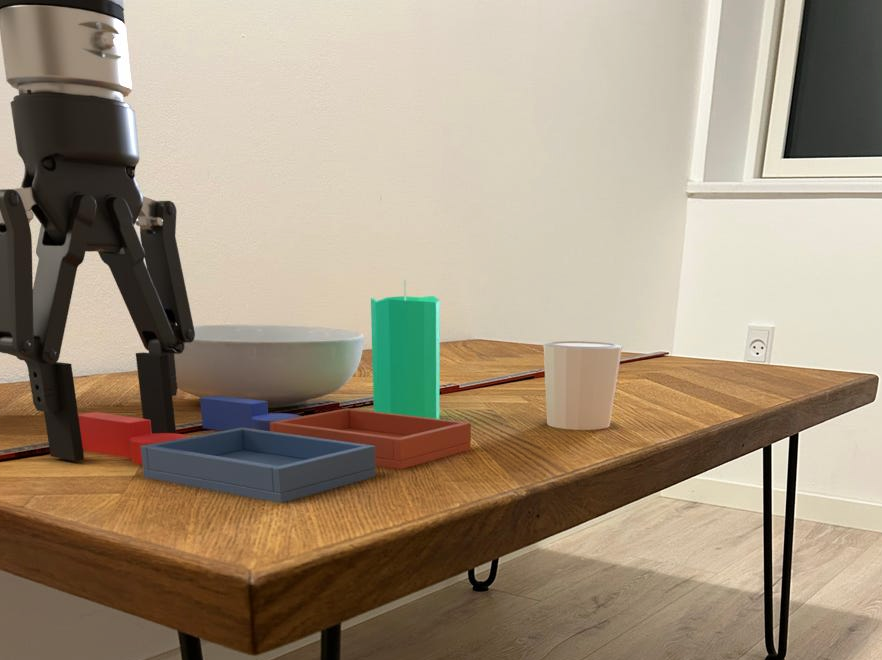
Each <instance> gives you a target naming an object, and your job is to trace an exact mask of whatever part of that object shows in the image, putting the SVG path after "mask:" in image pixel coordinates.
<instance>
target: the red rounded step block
mask: <svg viewBox="0 0 882 660" xmlns="http://www.w3.org/2000/svg"><path fill="white" fill-rule="evenodd" d="M78 417H79V424H80V431H81V438H82V446H83V451H88V452H93V453H99V454H104V455H110V456H117V457H123V458H127V459H131V461H132V464H133V463H134V464H136V465H141V466H143V463H142V454H141V446H144V445H149V444H155V443H160V442H166V441H171V440H177V439H182V438H187V437H189V436H188V435H186V434H182V433H176V434H175V433H154V434H152V431H151V422H150V420H149V419H143V417H135V416H127V415H120V414H113V413H106V412H99V411H94V412H86V413H78Z"/></svg>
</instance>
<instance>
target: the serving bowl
mask: <svg viewBox="0 0 882 660" xmlns="http://www.w3.org/2000/svg"><path fill="white" fill-rule="evenodd" d="M193 326H194V331H195V338H194V340H193V341H192V342H190V343H188V342H186V343H184V345H185V348H184V351H183V352H182V353H180V354H174V358H175V368H176V378H177V380H176V381H177V388H178V389H179V390H180V391H182V392H184V393H187V394H189V395H192V396H194V397H198V398H200V397H207V396H214V395H218V396H226V397H234V398H243V399H251V400H260V401H267V408H268V409H275V408H276V409H277V408H289V407H295V406H300V405H303V404H305V403H307V402H308V401H310V400H314V399H318V398H321V397H324V396H327V395H330V394H332V393H335V392H336V391H338V390H340V389H341V388H343V387H344V386H345V385H346V384H348V382H349V381H350V380H351V379H352V377H354V375H355V374H356V372H357V371H358V368H359V365H360V363H361V359H362V357H363V351H364V350H363V349H364V341H365V336H364V334H363V333H360V332H358V331H353V330H349V329H343V328H342V329H341V328H332V327H323V326H308V325H307V326H305V325H286V324H285V325H283V324H199V325H193ZM178 389H177V390H178Z"/></svg>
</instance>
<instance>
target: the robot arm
mask: <svg viewBox="0 0 882 660" xmlns="http://www.w3.org/2000/svg"><path fill="white" fill-rule="evenodd" d="M124 11H125V5H124V0H0V43H1V50H2V56H3V57H2V58H3V64H4V73H5V80H6V83H8V84H9V86H11V87H12V88H13V89H16V90H18V95H14V97H13V99H12V101H10V110H11V115H12V116H11V117H12V122H13V131H14V136H15V143H16V150H17V151H16V152H17V154H18V155H19V157H20V158H21V160H22V162H23V165H24V175H23V179H22V181H21V186H20V187H16V188H1V189H0V353H1V354H7V355H10V356H14V357H16V359H17V360H20V361H23V362H24V363H25V364H26V367H27V372H28V378H29V386H30V391H31V397H32V404H33V406H34V408H35V410H36V411H37V412H43V414H44V421H45V427H46V435H47V440H48V447H49V455H50V457H52V458H57V459H62V460H67V461H72V462H79V461H84V460H85V455H84V450H83V446H82V438H81V431H80V424H79V417H78V415H79V411H78V410H79V409H78V404H77V403H78V402H77V394H76V389H75V388H76V387H75V381H74V374H73V366H72V363H67V362H61V361H59V359H60V356H61V352H62V351H61V350H62V345H63V342H64V341H63V340H64V336H65V332H66V331H65V330H66V326H67V320H68V316H69V311H70V305H71V301H72V295H73V291H74V287H75V280H76V277H77V276H76V275H77V272H78V267H79V266H80V265H81V264H82V263H83V262H84V260H85V256H86V252H97V253H98V255H99V257H100V259H101V261H102V262H103V263H104V264H106V265H107V267H108V268H109V270H110V272H111V275H112V276H113V279H114V282H115V284H116V285H117V288H118V290H119V293H120V295H121V298H122V300H123V302H124V304H125V306H126V308H127V311H128V313H129V315H130V318H131V320H132V322H133V324H134V326H135V327H134V328H135V329H136V331H137V333H138V336H139V338H140V341H141V343H142V345H143V347H144V349H145V350H146V351H148V352H143V351H142V352H136V353H135V360H136V369H137V378H138V386H139V387H138V388H139V395H140V396H139V397H140V404H141V405H140V406H141V413H142V419H149V420H150V422H151V431H152V434H154V433H175V434H177V429H176V420H175V419H176V418H175V408H174V400H173V399H174V398H173V397H175V396H177V393H178V388H177V381H176V380H177V378H176V368H175V358H174V354H180V353H182V352H183V351H184V348H185V345H184V343H186V342H188V343H190V342H192V341H193V340H194V338H195V331H194V326H195V325H194V321H193V316H192V312H191V306H190V301H189V297H188V292H187V286H186V282H185V277H184V272H183V268H182V263H181V258H180V252H179V248H178V247H179V246H178V242H177V238H176V233H177V232H176V231H177V213H178V212H177V207H176V204H175V203H174V202H173V201H172V200H155V199H152V198H149V197H146V196H143V193H142V190H141V189H140V187H139V185H138V182H137V179H136V177H135V176H136V174H135V172H136V167H137V165H138V164H139V162H140V149H139V141H138V131H137V130H138V129H137V121H136V112H135V110H134V109H133V108H132V106H131V104H129V103H128V102H125V101H124V98H126V97H128V96H129V95H130V94H131V93H132V91H133V85H132V76H131V75H132V74H131V65H130V55H129V47H128V46H129V45H128V37H127V26H126V23H125V22H126V21H125V13H124ZM34 216H35V217H36V219H37V221H38V222H39V223H40V228H39V233H38V238H37V242H36V248H35V254H36V256H37V257H38V262H37V267H36V270H35V271H36V272H35V276H34V280H33V240H32V239H33V238H32V230H31V225H30V223H31V221H32V220H33V219H34ZM135 225H136V226H138V227H139V235H140V237H139V235H138V232H137V230H136V227H135ZM33 281H34V282H33Z"/></svg>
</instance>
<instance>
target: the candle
mask: <svg viewBox="0 0 882 660" xmlns="http://www.w3.org/2000/svg"><path fill="white" fill-rule="evenodd" d="M403 286H404V287H403V291H404V295H403V296H387V297H383V298H381V299H378V300H377V299H376V298H374V297H373V298H370V320H371V321H370V322H371V323H370V325H371V359H372V361H371V364H372V400H373V401H372V403H373V405H372V406H373V411H375V412H383V413H392V414H400V415H409V416H418V417H426V418H435V419H440V310H441V309H440V308H441V307H440V305H441V303H440V299H439V298H437V297H436V296H434V295H429V296H421V297H419V296H408V295H407V279H404V280H403Z"/></svg>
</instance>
